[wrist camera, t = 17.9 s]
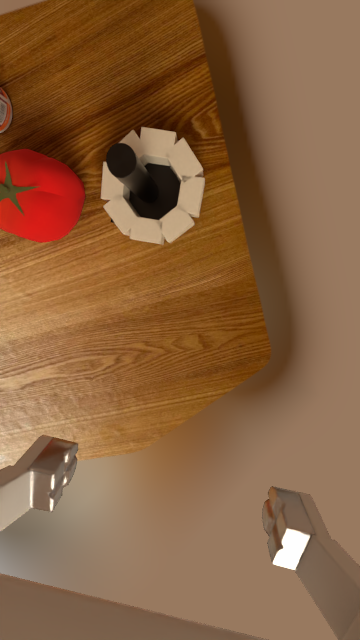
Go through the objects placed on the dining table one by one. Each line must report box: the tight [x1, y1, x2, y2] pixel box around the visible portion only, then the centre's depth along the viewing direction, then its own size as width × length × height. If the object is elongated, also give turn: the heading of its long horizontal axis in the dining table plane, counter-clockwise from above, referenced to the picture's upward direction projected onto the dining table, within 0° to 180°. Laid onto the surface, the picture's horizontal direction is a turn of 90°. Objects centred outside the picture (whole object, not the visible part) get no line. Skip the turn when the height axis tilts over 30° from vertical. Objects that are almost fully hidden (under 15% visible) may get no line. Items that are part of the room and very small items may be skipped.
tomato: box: [0, 148, 85, 243], centre depth 33 cm, size 11×13×10 cm
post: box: [106, 143, 181, 223], centre depth 30 cm, size 10×10×13 cm
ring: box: [101, 127, 205, 244], centre depth 34 cm, size 13×13×3 cm
